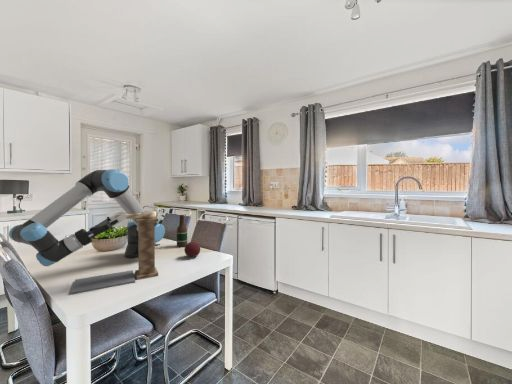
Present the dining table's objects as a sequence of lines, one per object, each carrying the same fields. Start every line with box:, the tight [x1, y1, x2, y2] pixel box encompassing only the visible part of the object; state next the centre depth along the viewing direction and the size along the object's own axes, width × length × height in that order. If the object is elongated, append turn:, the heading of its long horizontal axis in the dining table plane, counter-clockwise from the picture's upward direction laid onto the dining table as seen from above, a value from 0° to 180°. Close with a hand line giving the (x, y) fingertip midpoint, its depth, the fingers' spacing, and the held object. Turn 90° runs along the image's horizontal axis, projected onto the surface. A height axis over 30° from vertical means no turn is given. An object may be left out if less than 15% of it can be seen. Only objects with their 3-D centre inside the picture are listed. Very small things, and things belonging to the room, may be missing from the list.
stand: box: [134, 217, 159, 280], centre depth 125 cm, size 10×10×30 cm
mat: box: [70, 269, 136, 295], centre depth 116 cm, size 25×16×1 cm, turn 121°
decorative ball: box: [184, 241, 201, 258], centre depth 155 cm, size 10×10×10 cm
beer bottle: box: [176, 214, 188, 248], centre depth 180 cm, size 8×8×24 cm
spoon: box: [114, 211, 157, 220], centre depth 121 cm, size 19×7×3 cm, turn 121°
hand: (124, 214), depth 119 cm, fingers open, 13 cm apart
